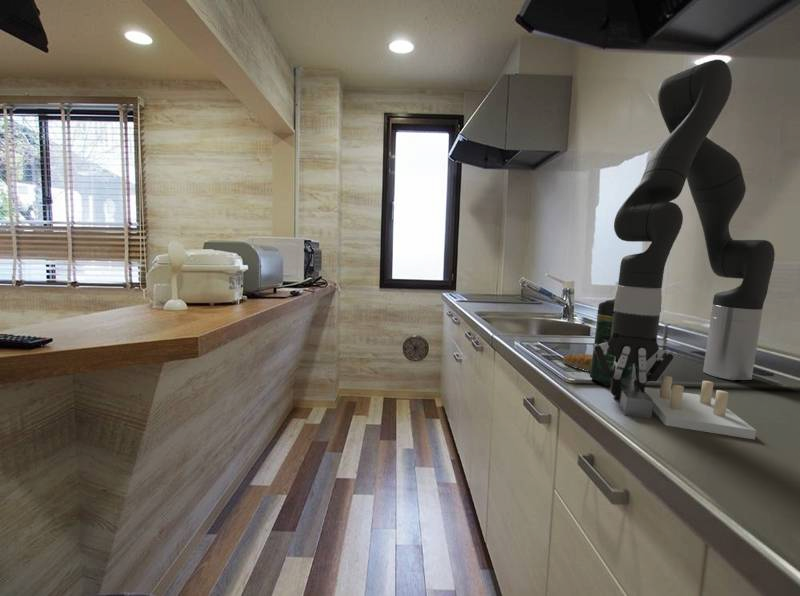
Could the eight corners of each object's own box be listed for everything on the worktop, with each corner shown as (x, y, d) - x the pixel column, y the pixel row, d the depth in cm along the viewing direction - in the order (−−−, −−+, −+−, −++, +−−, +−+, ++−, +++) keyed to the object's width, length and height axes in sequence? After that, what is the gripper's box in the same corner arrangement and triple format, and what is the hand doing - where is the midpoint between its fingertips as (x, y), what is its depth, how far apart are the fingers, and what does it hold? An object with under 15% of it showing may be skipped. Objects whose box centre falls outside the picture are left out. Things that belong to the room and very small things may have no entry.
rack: (639, 393, 79) (642, 367, 79) (709, 403, 76) (713, 376, 75) (665, 425, 64) (669, 393, 63) (754, 439, 60) (760, 405, 60)
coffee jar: (626, 390, 81) (637, 302, 79) (585, 381, 86) (594, 297, 84) (634, 380, 88) (644, 299, 86) (597, 372, 93) (605, 295, 91)
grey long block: (609, 389, 81) (611, 374, 81) (631, 392, 80) (632, 377, 79) (624, 414, 68) (626, 397, 67) (651, 419, 66) (653, 401, 66)
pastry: (557, 365, 99) (559, 350, 98) (569, 361, 103) (570, 347, 103) (596, 375, 92) (598, 359, 91) (606, 370, 97) (608, 355, 96)
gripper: (672, 311, 75) (661, 398, 77) (592, 305, 79) (583, 387, 81) (687, 317, 68) (674, 412, 70) (598, 309, 72) (588, 399, 74)
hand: (625, 398), depth 76 cm, fingers closed on grey long block, 3 cm apart
